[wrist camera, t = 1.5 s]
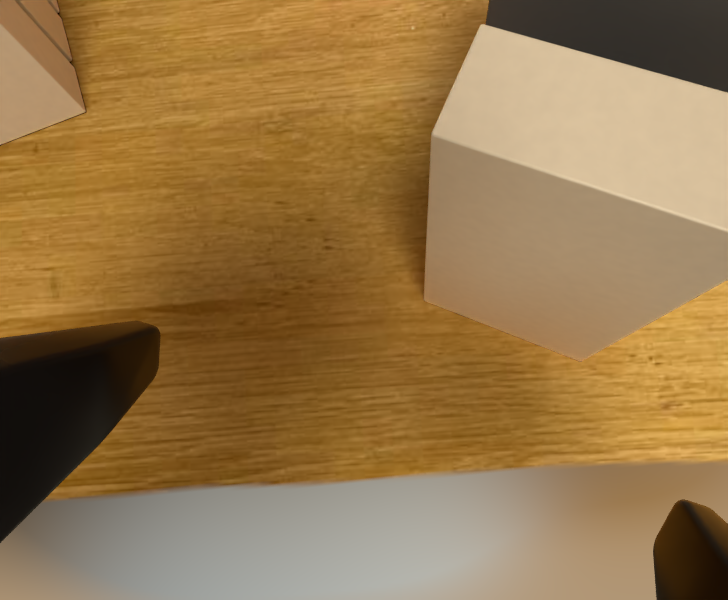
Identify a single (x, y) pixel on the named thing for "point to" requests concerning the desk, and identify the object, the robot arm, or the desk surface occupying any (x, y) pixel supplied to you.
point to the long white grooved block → (34, 69)
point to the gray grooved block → (630, 32)
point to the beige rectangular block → (573, 194)
